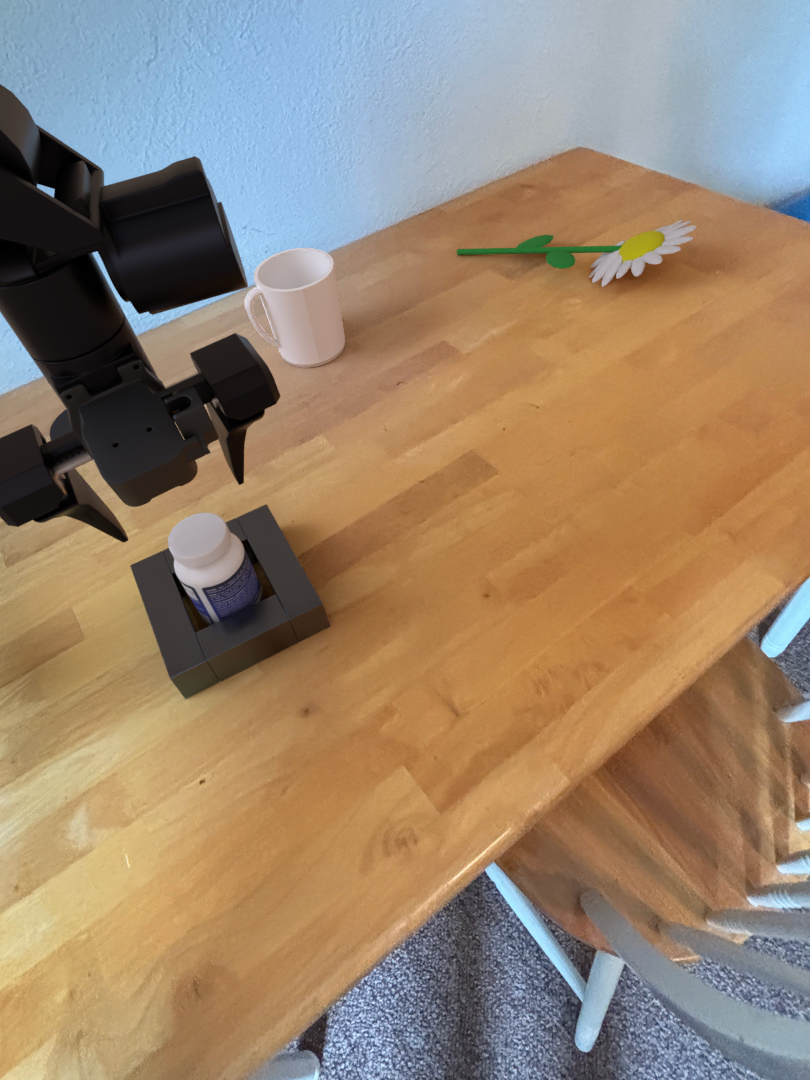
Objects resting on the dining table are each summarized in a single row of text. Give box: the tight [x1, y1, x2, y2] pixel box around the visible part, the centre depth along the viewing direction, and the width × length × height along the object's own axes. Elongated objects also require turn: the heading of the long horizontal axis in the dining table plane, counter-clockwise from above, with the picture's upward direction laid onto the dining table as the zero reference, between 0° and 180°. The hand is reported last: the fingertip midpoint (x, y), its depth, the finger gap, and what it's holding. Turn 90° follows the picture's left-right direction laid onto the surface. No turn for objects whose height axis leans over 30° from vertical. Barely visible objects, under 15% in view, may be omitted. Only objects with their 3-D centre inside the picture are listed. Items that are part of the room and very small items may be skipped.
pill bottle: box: [167, 512, 266, 627], centre depth 58 cm, size 6×6×10 cm
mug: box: [244, 247, 347, 369], centre depth 81 cm, size 11×9×10 cm
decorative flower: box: [456, 219, 698, 288], centre depth 89 cm, size 13×5×30 cm
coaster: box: [49, 408, 73, 441], centre depth 80 cm, size 9×9×1 cm
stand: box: [129, 504, 332, 700], centre depth 61 cm, size 13×13×4 cm
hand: (183, 508), depth 52 cm, fingers open, 9 cm apart
